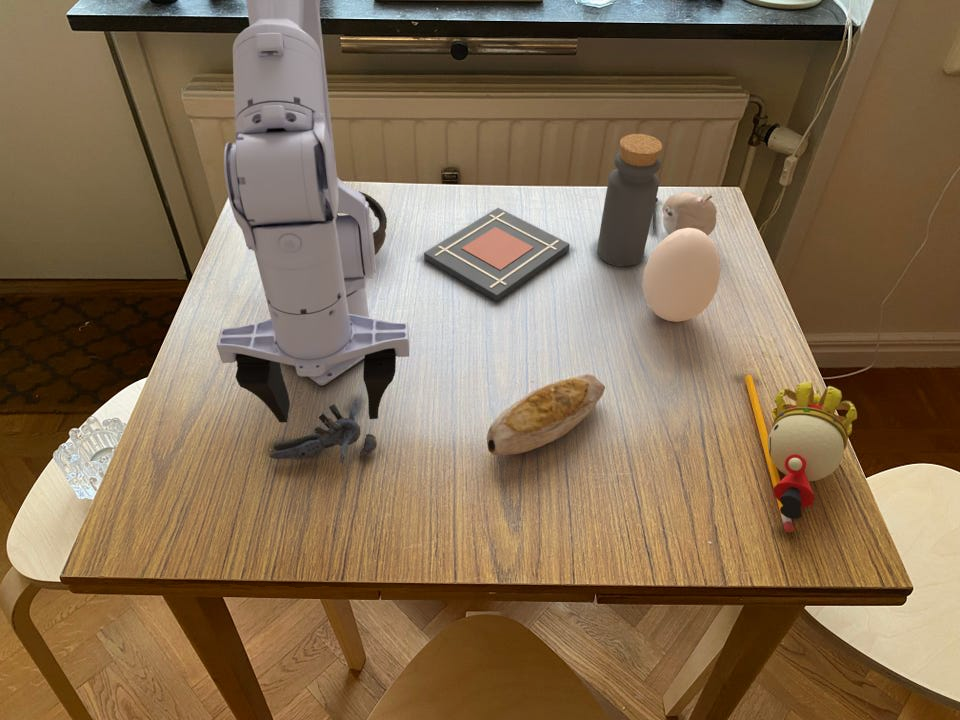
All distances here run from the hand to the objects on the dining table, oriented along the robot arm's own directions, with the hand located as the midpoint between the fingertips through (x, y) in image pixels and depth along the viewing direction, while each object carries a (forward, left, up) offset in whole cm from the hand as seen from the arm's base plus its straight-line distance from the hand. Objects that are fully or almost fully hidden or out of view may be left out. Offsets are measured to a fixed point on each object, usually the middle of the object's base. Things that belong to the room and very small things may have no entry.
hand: (329, 412), depth 61 cm
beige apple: (+54, -5, -7) cm, 54 cm away
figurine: (0, +3, -2) cm, 4 cm away
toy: (+21, -34, -3) cm, 40 cm away
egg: (+39, -12, -7) cm, 41 cm away
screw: (+55, 0, -6) cm, 56 cm away
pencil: (+28, -29, -7) cm, 41 cm away
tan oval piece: (+16, -12, -7) cm, 21 cm away
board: (+34, +10, -7) cm, 36 cm away
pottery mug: (+21, +25, -7) cm, 33 cm away
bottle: (+45, -1, -7) cm, 46 cm away
